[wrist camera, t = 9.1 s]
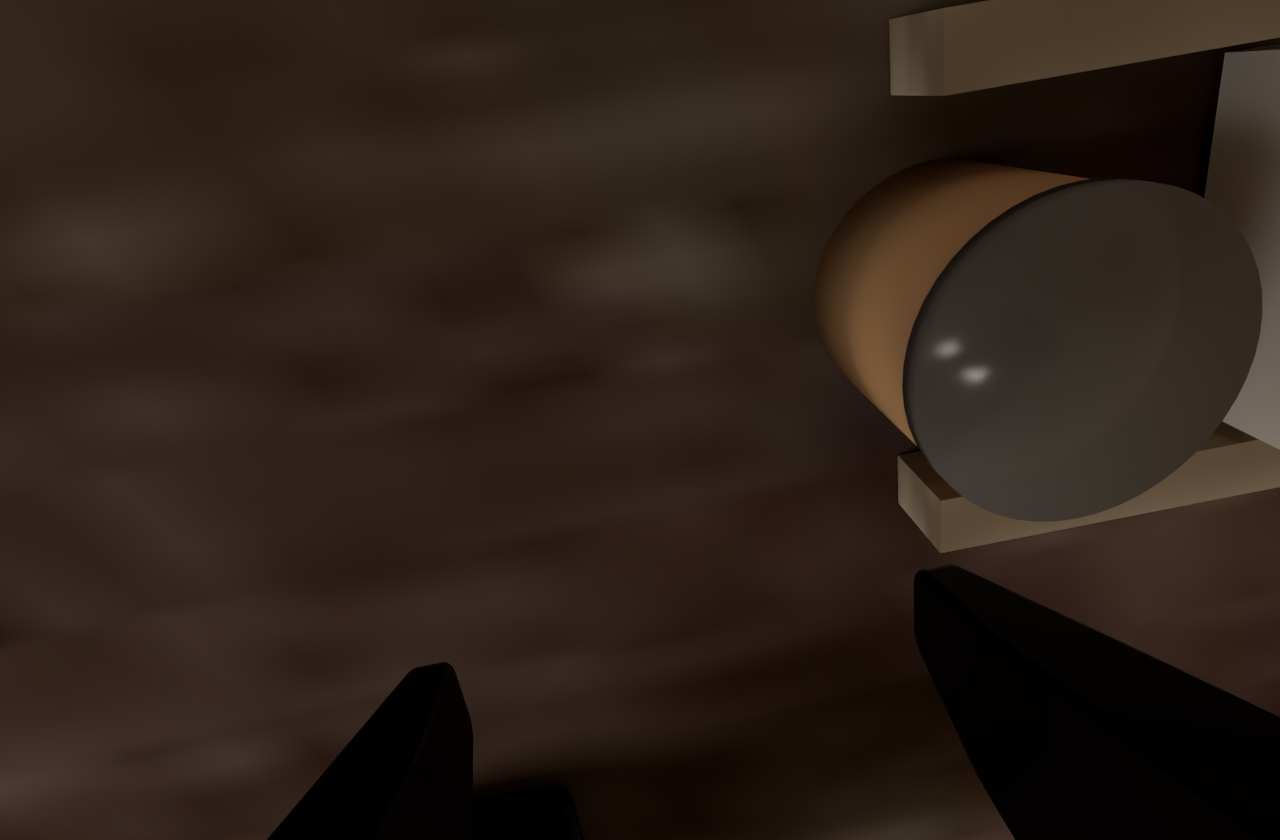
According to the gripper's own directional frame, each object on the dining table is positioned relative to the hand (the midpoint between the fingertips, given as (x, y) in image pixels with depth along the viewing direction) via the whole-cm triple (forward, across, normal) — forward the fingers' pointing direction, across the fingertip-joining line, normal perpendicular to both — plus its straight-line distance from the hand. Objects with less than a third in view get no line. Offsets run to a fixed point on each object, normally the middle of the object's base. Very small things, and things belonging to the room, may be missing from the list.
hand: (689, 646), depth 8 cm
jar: (+11, -8, 0) cm, 14 cm away
